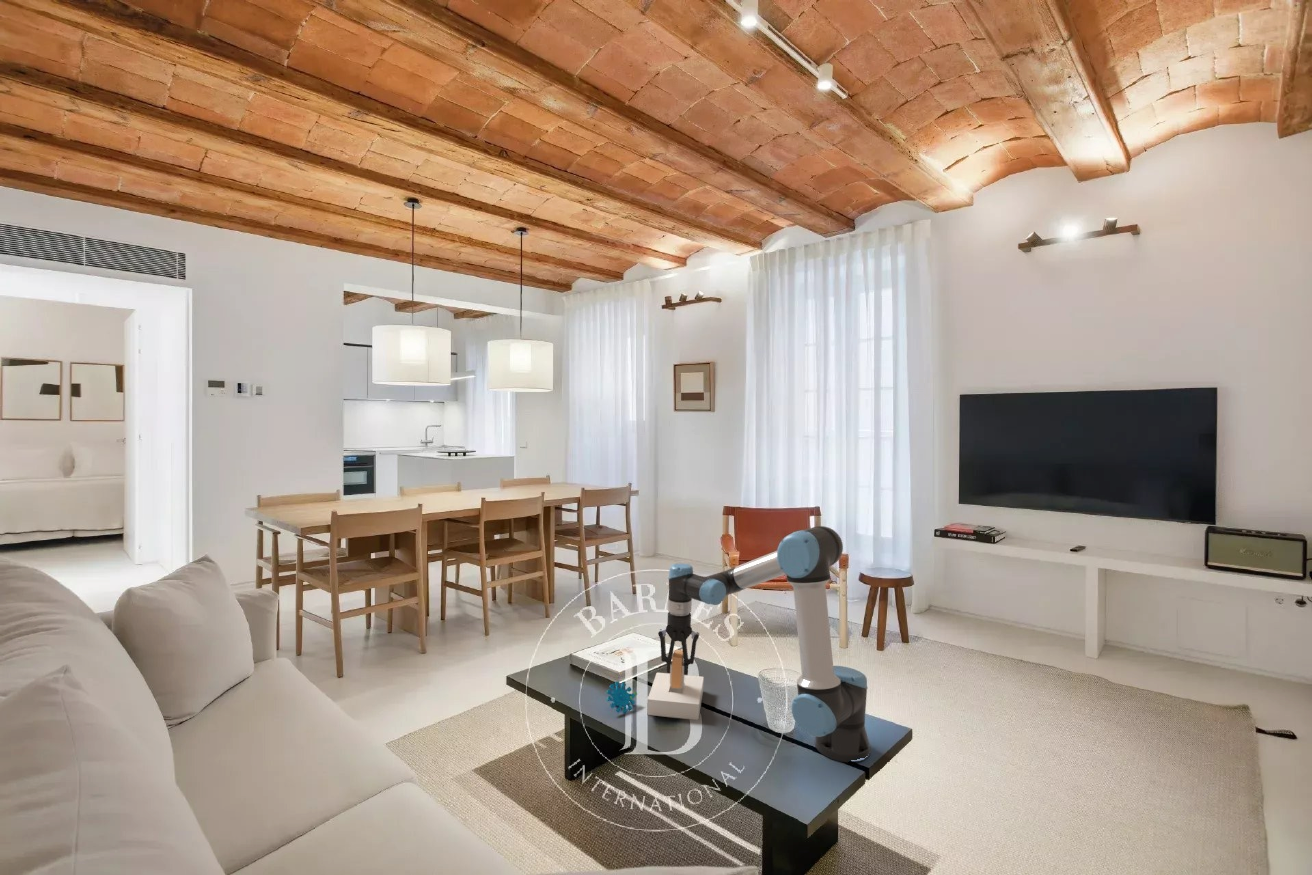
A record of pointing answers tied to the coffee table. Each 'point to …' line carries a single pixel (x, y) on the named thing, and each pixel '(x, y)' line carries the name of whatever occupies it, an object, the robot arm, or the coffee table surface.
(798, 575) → the robot arm
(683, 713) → the block
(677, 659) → the peg
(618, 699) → the blue virus model
